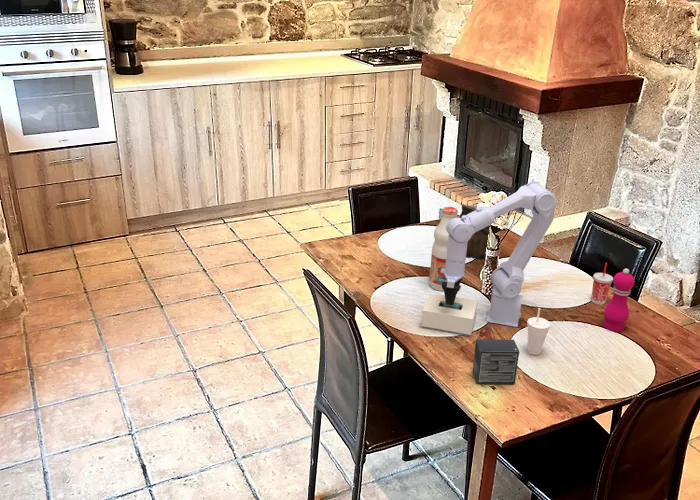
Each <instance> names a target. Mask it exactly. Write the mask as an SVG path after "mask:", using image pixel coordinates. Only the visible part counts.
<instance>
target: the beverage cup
mask: <svg viewBox="0 0 700 500" xmlns="http://www.w3.org/2000/svg"><path fill="white" fill-rule="evenodd" d="M607 265H608V262H605V264H604V268H603V272H595V273H594V274H593V276H592V277H593V282H592V290H591V296H590V301H591V302H592V303H593V304H596V305H604V304H606V303H607V298H608V295H609V292H610V289H611V285H612V283H613V279H614V276H612V275H610V274H608V273H606V269H607Z"/></svg>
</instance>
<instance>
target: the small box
mask: <svg viewBox="0 0 700 500" xmlns="http://www.w3.org/2000/svg"><path fill="white" fill-rule="evenodd" d="M473 355H474V356H473V362H472V363H473V364H472V370H471V371H472V375H473V378H474V381H475V384H476V385H516V378H517V371H518V364H519V355H520V350H519V347H518V346H517V343H516V341H515V340H514V339H487V338H486V339H479V338H478V339H475V346H474V354H473Z"/></svg>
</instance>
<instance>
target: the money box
mask: <svg viewBox="0 0 700 500" xmlns="http://www.w3.org/2000/svg"><path fill="white" fill-rule="evenodd" d="M444 302H445V294H442V293H441V294H440V293H433V292H429V295H428V297H427V299H426V302H425V304H424V307H423V309H422V314H421V315H422V316H421V324H420V325H421V326H420V327H421V329H427V330H431V331H432V330H433V331H437V332H444V333H449V334H450V333H451V334H454V335H461V336H466V337H472V334H473V329H474V326H475V323H476V322H475V321H476V318H477V310H478V303H479V300H477V299H472V298H464V297H459V296H458V297H457V296H456V298H455V301H454V302H455V303H460V305H459V310H458V309H452V308H446V307H443V306H444Z"/></svg>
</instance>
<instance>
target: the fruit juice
mask: <svg viewBox="0 0 700 500" xmlns="http://www.w3.org/2000/svg"><path fill="white" fill-rule="evenodd" d="M441 212H442V216H441V220H440V221H439V224H438V225H436V227H435V229H434V231H433V238H434V242H433V244H432V246H431V247H432V248H431V257H430V258H431V259H430V265H429V266H430V268H429V279H428V282H429V283H428V284H429V286H430V288H432V289H434V290H436V291H440V292H444V290H443V288H442V282H447V279H446V277H445V274H444V273H441V269H442V268H445V265H446V254H447V245H448V236H449V233H448V232H447V230H446V226H447V225H448V223H449V222H450V220H452V219H453V218H457V215H458V213H459V212H458V208H456V207H455V206H454V207H453V206H445V207H443V208H442V211H441Z"/></svg>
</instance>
